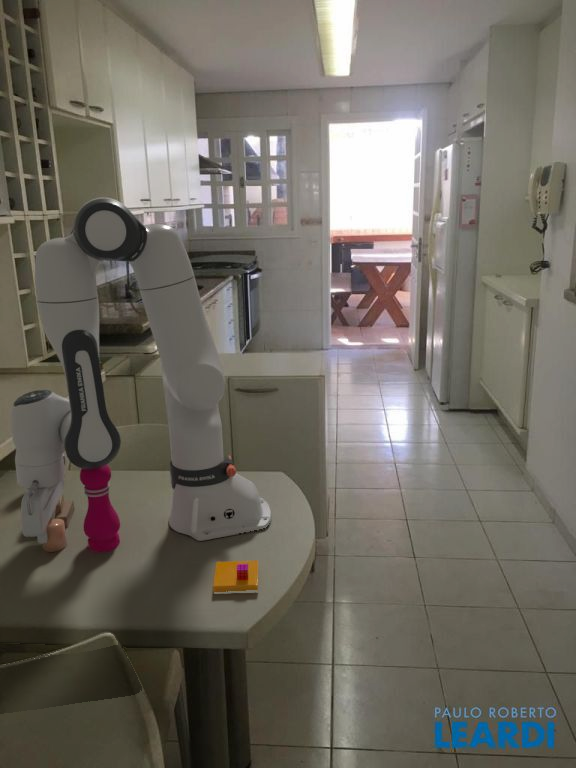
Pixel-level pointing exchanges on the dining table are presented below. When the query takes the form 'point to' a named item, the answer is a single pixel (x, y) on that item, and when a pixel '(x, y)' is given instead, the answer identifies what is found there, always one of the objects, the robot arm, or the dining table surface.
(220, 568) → the orange square tile
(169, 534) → the dining table surface
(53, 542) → the tan capsule
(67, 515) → the slab
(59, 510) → the cube
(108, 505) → the pepper mill
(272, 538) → the dining table surface
